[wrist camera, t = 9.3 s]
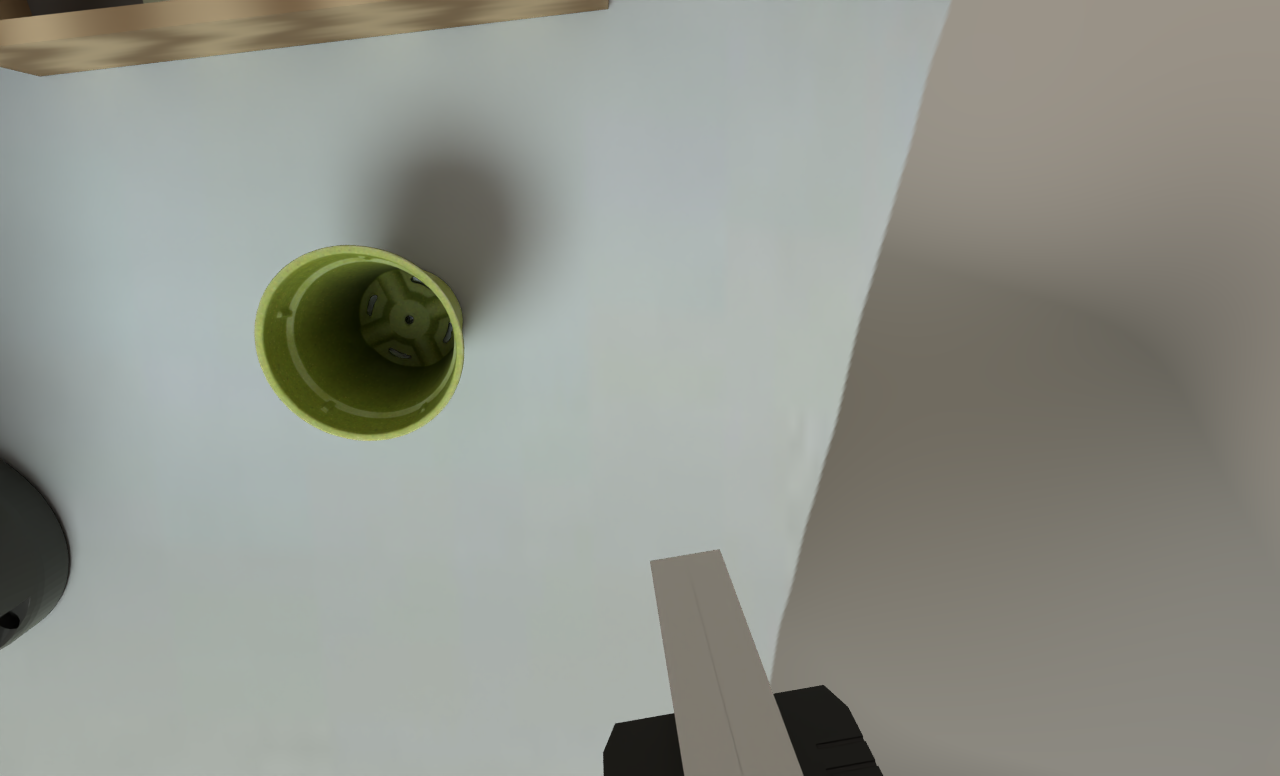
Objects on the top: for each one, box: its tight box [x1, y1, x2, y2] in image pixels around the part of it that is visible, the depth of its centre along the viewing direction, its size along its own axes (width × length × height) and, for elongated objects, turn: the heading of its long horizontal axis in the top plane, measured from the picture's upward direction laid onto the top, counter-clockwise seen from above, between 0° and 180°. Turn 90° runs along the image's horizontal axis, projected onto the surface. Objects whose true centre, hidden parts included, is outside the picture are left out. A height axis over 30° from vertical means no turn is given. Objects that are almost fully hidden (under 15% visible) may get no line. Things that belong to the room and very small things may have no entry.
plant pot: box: [254, 245, 464, 441], centre depth 33 cm, size 9×9×9 cm
